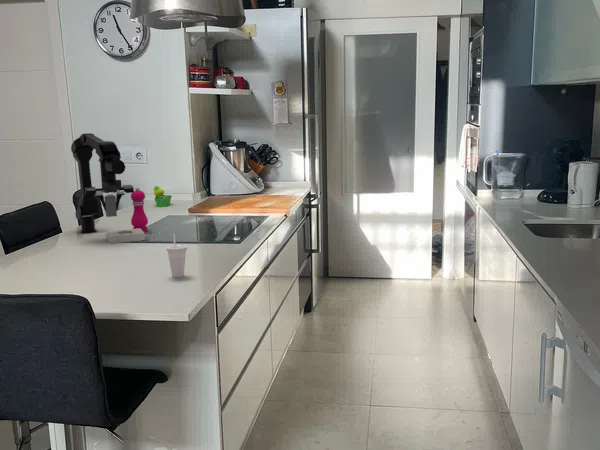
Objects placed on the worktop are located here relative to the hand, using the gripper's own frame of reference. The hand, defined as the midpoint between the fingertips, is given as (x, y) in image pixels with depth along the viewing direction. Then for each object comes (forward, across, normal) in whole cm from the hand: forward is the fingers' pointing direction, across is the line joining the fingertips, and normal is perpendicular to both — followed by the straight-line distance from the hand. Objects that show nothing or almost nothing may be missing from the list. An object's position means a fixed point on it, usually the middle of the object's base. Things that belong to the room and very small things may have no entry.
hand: (111, 210), depth 246 cm
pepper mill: (+12, +12, +14) cm, 22 cm away
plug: (+2, 0, 0) cm, 2 cm away
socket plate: (+12, +5, 0) cm, 13 cm away
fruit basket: (+12, +33, +87) cm, 94 cm away
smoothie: (+13, +15, -67) cm, 70 cm away
